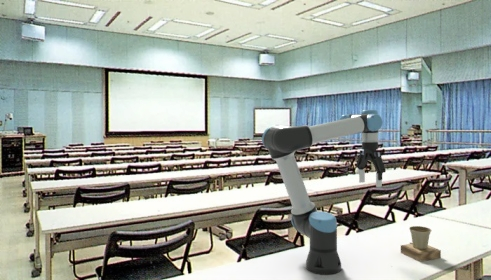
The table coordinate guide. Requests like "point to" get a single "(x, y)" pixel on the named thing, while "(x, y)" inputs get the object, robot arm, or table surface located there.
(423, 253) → the plinth
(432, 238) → the table surface
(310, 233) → the robot arm
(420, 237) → the flower pot
